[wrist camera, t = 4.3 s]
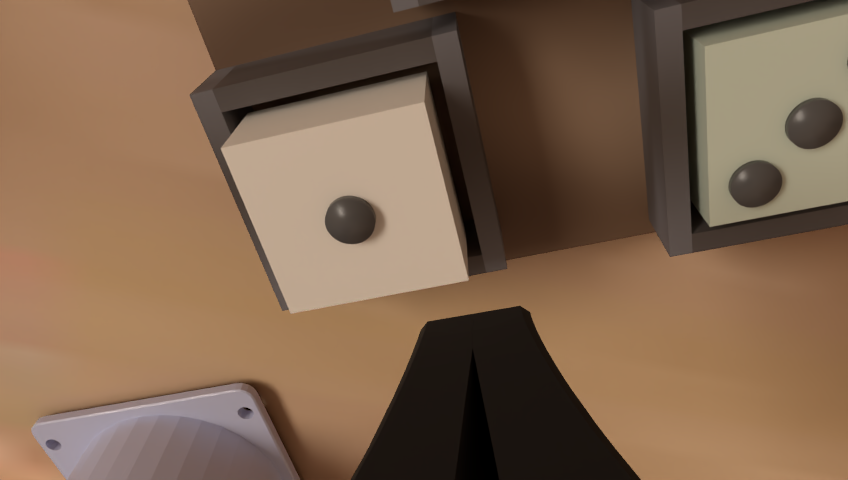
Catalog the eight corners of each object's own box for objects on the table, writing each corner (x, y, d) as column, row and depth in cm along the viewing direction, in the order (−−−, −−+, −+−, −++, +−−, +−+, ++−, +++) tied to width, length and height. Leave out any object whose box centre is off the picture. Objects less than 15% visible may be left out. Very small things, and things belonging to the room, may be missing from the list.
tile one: (465, 234, 16) (469, 285, 14) (307, 264, 16) (288, 319, 14) (426, 71, 14) (424, 105, 12) (247, 113, 14) (217, 152, 12)
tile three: (855, 153, 15) (912, 194, 14) (681, 187, 16) (713, 231, 14) (870, -23, 14) (940, -4, 12) (672, 23, 14) (708, 49, 12)
